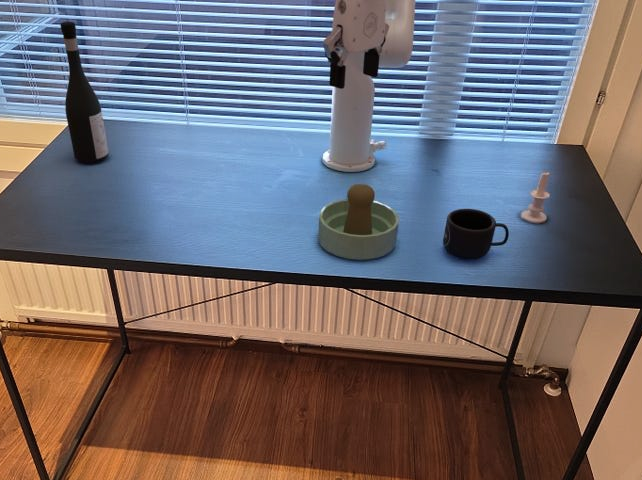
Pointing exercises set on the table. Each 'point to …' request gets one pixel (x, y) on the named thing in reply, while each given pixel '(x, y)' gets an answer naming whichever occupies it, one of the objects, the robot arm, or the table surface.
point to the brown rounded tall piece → (359, 210)
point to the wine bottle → (82, 107)
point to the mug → (470, 234)
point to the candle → (537, 202)
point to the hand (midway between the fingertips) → (353, 81)
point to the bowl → (357, 245)
